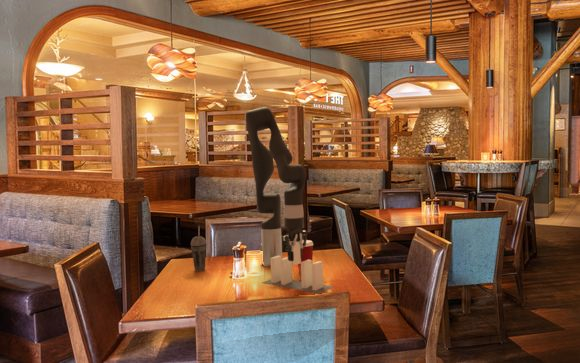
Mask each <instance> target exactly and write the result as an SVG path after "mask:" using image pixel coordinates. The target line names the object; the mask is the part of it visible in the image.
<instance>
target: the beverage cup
mask: <svg viewBox="0 0 580 363" xmlns="http://www.w3.org/2000/svg"><path fill="white" fill-rule="evenodd" d="M200 227H201V226H200V225H198V229H197V230H198V233H197V234H198V235H196V236H194V237H192V239H191V241H190V249H191V254H192V260H193V261H192V262H193V268H194V271H195V272H203V271H205V270H206V257H207V256H206V255H207V253H206V250H207V244H208V243H207V241H206V239H205V237H203V236H201V235H200V229H201V228H200Z"/></svg>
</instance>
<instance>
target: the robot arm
mask: <svg viewBox="0 0 580 363" xmlns="http://www.w3.org/2000/svg"><path fill="white" fill-rule="evenodd" d="M274 116H275V115H274V114H273V111H272V110H271V108H270V107H268V106H263V107H257V108H255V109H249V110H247V111H246V112H245V124H246V129H247V134H248V139H249V144H250V145H249V146H250V152H251V154H250V155H251V162H252V169H253V176H254V183H255V193H256V194H255V196H256V197H255V198H256V207H257V211H258V213H260V214H273V215H272V217H270V218H268V219H266V220H263V221H262V222H261V223H260V231H261V232H260V233H261V234H260V235H261V243H260V244H259V248H260V250H259V251H263V262H264V267H271V260H270V258H272V257H275V256H281V259H283V251H287V257H288V260H289V261H294V251H293V250H294V246H295V244H296V242H299V240H300V242H299V243H300V253H301V258H302V249H303V247H304V246H306V240H308V237H307V236H308V231H307V230H303V229H304V228H305V222H304V221H305V220H304V219H305V218H304V215H305V214H304V206H303V203H304V202H303V192H304V187H305V184H306V183H305V182H306V178H307V170H306V168H305V167H304V166H303V165H302V164H299V163H298V164H291V163H292V162H293V159H294V158H293V155H292V153H291V151H290V149H289V148H288V146H287V145H286V142H285V141H284V138H283V136H282V132H280V128H279V126H278V123H277V120H276V118H275V117H274ZM265 130H269V131H270V138H269V144H268V148H267V146H265V145H264V143H262V141H261V139H260V138H259V135H258V132H261V131H265ZM274 162H275V164H274ZM275 165H276V169H277V173H278V174H277V175H278V178H279V180H280V181H281V182H282V183H284V184H292V187H290V188H289V189H286V190H284V193H283V195H284V196H283V197H284V198H283V199H284V200H283V201H284V205H283V206H284V207H283V208H284V209H283V215H284V216H283V217H284V219H283V220H284V229H285V230H286V234H285V235H282V220H281V213H282V212H281V210H282V208H281V206H282V200H281V196H280V194H279V193H278V192H277V193H275V192H273V193H272V192H271V193H270V192H269V193H264V190H265V187H266V185H267V183H268V182H269V180H270V179H271V178H272V176H273V173H274V170H275ZM303 240H304V241H303ZM289 241H293V243H289ZM302 242H303V243H302ZM290 245H291V248H290Z"/></svg>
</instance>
